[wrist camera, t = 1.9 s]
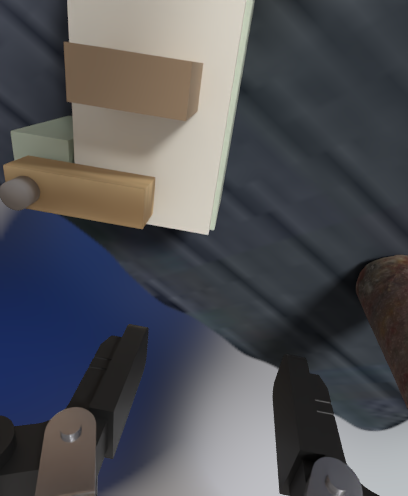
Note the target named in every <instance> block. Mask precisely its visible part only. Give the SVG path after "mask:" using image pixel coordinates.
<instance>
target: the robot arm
mask: <svg viewBox="0 0 408 496" xmlns="http://www.w3.org/2000/svg"><path fill="white" fill-rule="evenodd" d="M147 343H148V327H142V326H137V325H132V324H129V325H128V326H127V328H126V330H125V332H124V334H123V336H122V337H117V336H110V337H109V338H108V339H107V340H106V341H104V342H103V343H102V344H101V345H100V347H99V349H98V351H97V353H96V354H95V357H94V359H93V360H92V362H91V364H90V366H89V368H88V370H87V371H86V373H85V375H84V377H83V379H82V380H81V382H80V384H79V386H78V388H77V390H76V392H75V393H74V395H73V397H72V399H71V401H70V403H69V404H68V406H67V408H66V409H65V410H63V411H61V412H59V413H58V414H56V415H55V416H54V417H53V418H52V419H51V420H49V421H46V422H43V423H39V424H30V425H22V426H14V425H13V423H12V421H11V420H10V419H8V418H7V417H4V416H0V496H97V476H98V473H99V470H100V468H101V465H102V462H103V459H104V457H106V458H111V459H113V457H114V454H115V452H116V449H117V446H118V443H119V440H120V437H121V434H122V431H123V429H124V426H125V423H126V420H127V417H128V414H129V411H130V409H131V406H132V403H133V400H134V397H135V394H136V391H137V388H138V386H139V383H140V380H141V377H142V374H143V371H144V367H145V363H146V355H147ZM273 410H274V423H275V437H276V451H277V465H278V479H279V492H280V494H283V495H288V496H379V495H377V494H375V493H373V492H372V491H370V490H368V489H367V488H366V487H364V486H363V485H362V484H361V483H360V481H359V479H358V478H357V476H356V474H355V473H354V472H353V471H352V469H351V468H350V467H349V466H347V463H346V461H345V457H344V453H343V450H342V445H341V441H340V437H339V433H338V429H337V425H336V421H335V417H334V416H333V414H334V412H333V408H332V405H331V400H330V396H329V392H328V388H327V387H326V385H325V384H324V382H323V381H322V379H321V378H320V376H319V375H316V374H310V373H309V368H308V363H307V360H306V358H305V357H300V356H294V355H289V354H285V355H284V356H283V359H282V362H281V364H280V367H279V370H278V373H277V376H276V379H275V382H274V387H273Z"/></svg>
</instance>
